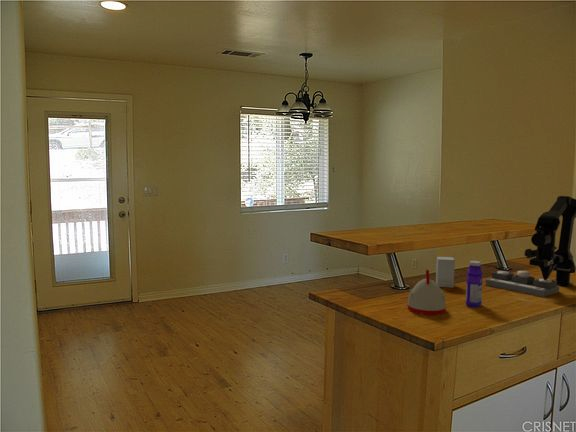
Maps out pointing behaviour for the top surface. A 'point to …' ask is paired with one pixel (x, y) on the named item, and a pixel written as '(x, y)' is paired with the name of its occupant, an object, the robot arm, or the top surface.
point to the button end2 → (545, 280)
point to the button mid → (523, 274)
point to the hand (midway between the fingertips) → (545, 279)
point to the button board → (523, 284)
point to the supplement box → (445, 271)
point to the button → (502, 272)
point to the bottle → (474, 285)
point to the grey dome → (427, 298)
